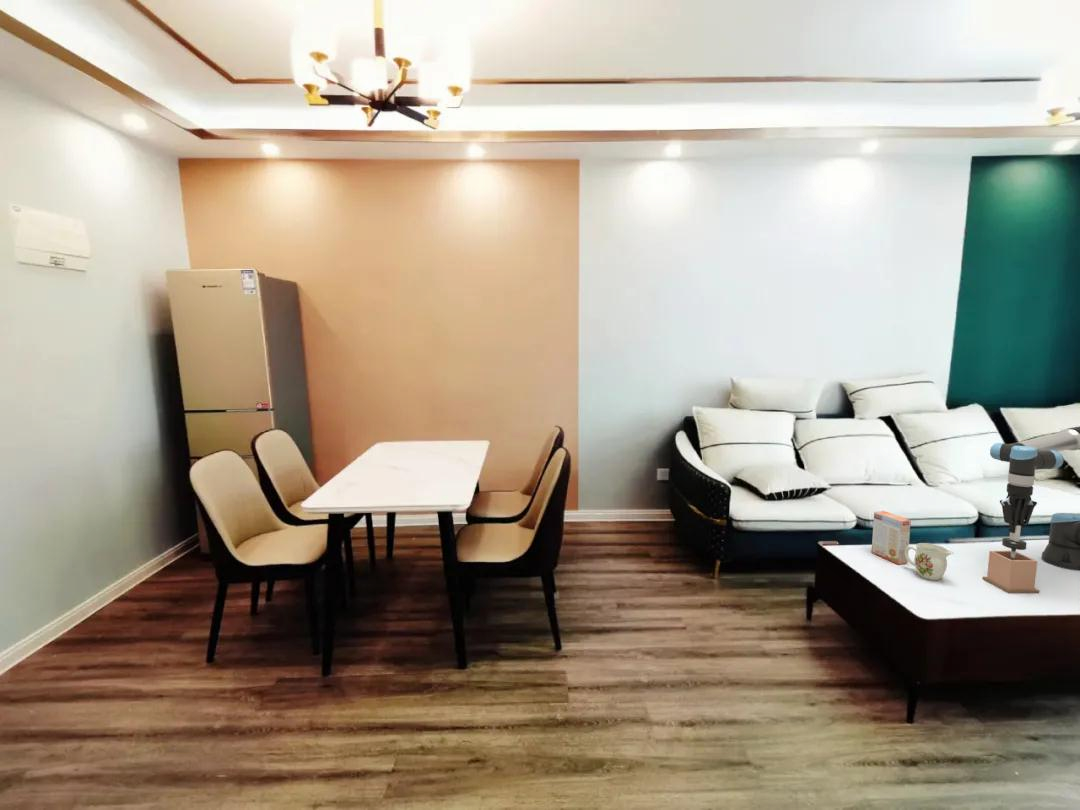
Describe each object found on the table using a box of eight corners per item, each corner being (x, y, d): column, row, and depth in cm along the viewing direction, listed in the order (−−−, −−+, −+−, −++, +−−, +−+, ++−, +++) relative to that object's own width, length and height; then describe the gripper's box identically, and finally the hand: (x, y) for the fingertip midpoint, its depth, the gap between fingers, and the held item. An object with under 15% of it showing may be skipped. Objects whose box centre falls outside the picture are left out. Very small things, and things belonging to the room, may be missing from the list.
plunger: (1011, 571, 204) (1015, 537, 202) (1029, 580, 197) (1033, 544, 195) (993, 571, 204) (996, 537, 203) (1009, 580, 197) (1013, 544, 195)
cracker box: (908, 563, 223) (911, 519, 220) (897, 565, 222) (900, 521, 219) (881, 551, 236) (884, 510, 234) (870, 552, 235) (873, 511, 233)
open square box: (1011, 579, 207) (1014, 549, 205) (1039, 593, 195) (1042, 562, 193) (982, 579, 207) (985, 549, 206) (1008, 593, 195) (1011, 562, 194)
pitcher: (911, 565, 221) (913, 536, 220) (958, 582, 205) (960, 550, 204) (896, 569, 217) (898, 540, 215) (943, 587, 201) (946, 555, 199)
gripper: (1028, 481, 200) (1022, 536, 202) (995, 481, 200) (989, 536, 203) (1046, 486, 192) (1039, 544, 195) (1012, 486, 193) (1006, 543, 195)
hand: (1014, 540), depth 199 cm, fingers closed
